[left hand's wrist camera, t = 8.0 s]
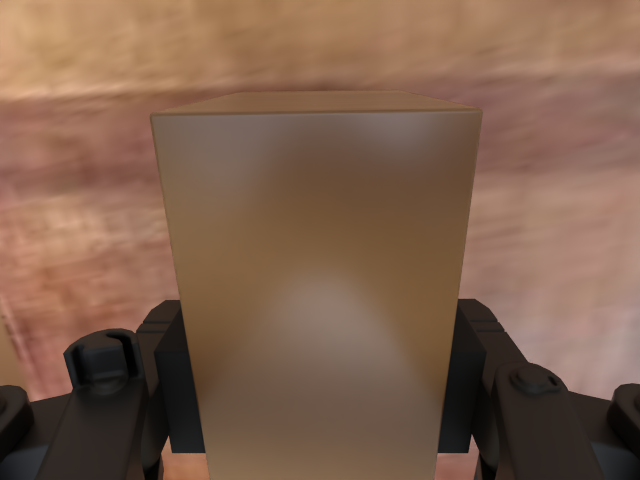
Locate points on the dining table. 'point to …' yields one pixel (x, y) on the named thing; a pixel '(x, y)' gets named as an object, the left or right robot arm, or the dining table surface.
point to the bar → (319, 275)
